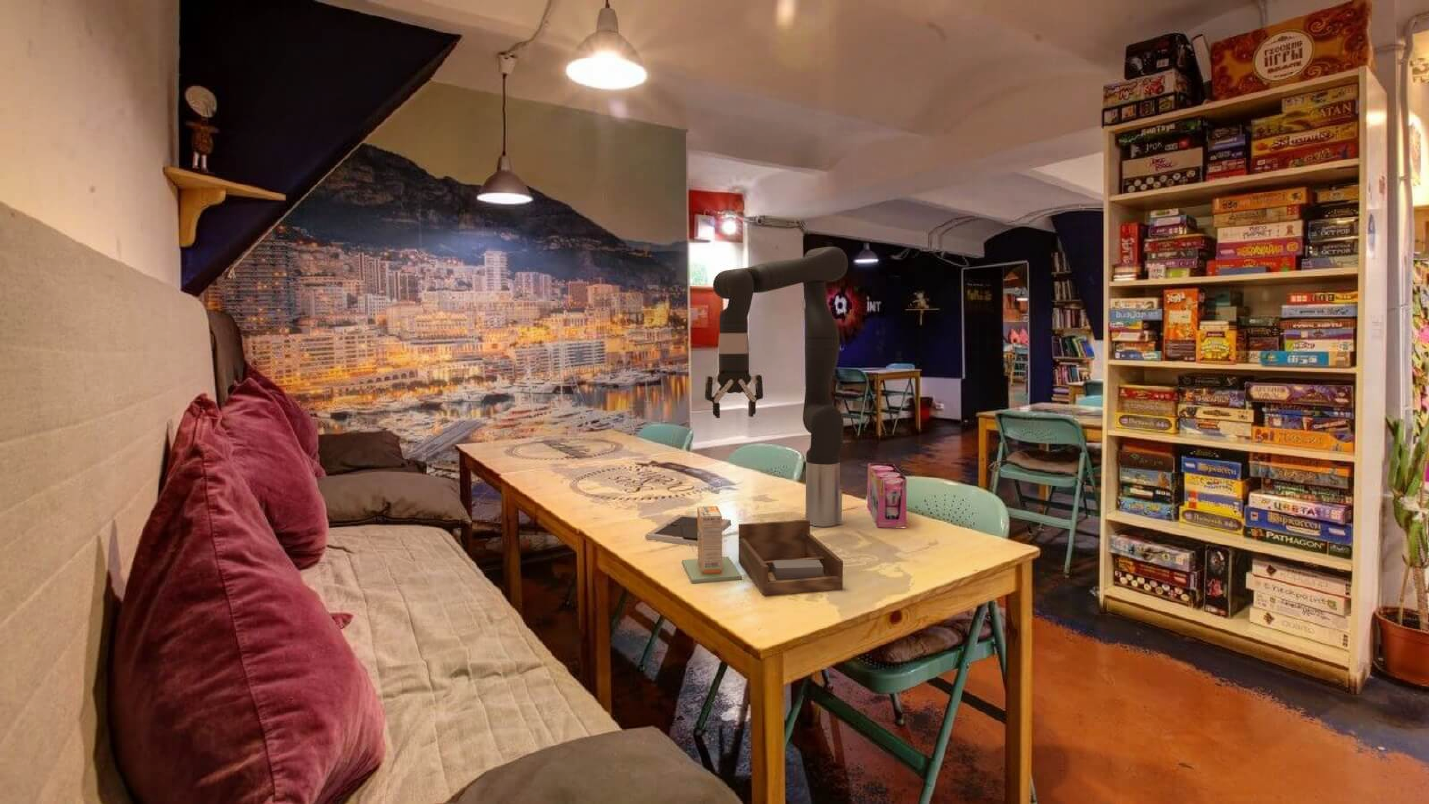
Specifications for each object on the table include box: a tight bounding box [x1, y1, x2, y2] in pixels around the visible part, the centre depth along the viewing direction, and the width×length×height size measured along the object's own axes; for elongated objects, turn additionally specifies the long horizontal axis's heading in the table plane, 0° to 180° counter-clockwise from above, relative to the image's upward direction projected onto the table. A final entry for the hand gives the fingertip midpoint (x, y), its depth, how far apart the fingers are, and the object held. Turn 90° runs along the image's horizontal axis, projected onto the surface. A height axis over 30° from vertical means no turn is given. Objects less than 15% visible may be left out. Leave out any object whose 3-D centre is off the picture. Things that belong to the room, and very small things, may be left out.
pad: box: [681, 556, 743, 584], centre depth 154 cm, size 11×13×1 cm
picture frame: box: [644, 514, 732, 547], centre depth 184 cm, size 16×3×21 cm
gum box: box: [866, 463, 908, 528], centre depth 196 cm, size 24×8×14 cm, turn 175°
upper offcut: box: [772, 560, 823, 580], centre depth 145 cm, size 10×5×2 cm, turn 93°
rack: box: [738, 519, 844, 597], centre depth 151 cm, size 17×21×9 cm
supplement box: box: [696, 505, 723, 574], centre depth 153 cm, size 8×5×13 cm, turn 7°
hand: (734, 417), depth 171 cm, fingers open, 8 cm apart
